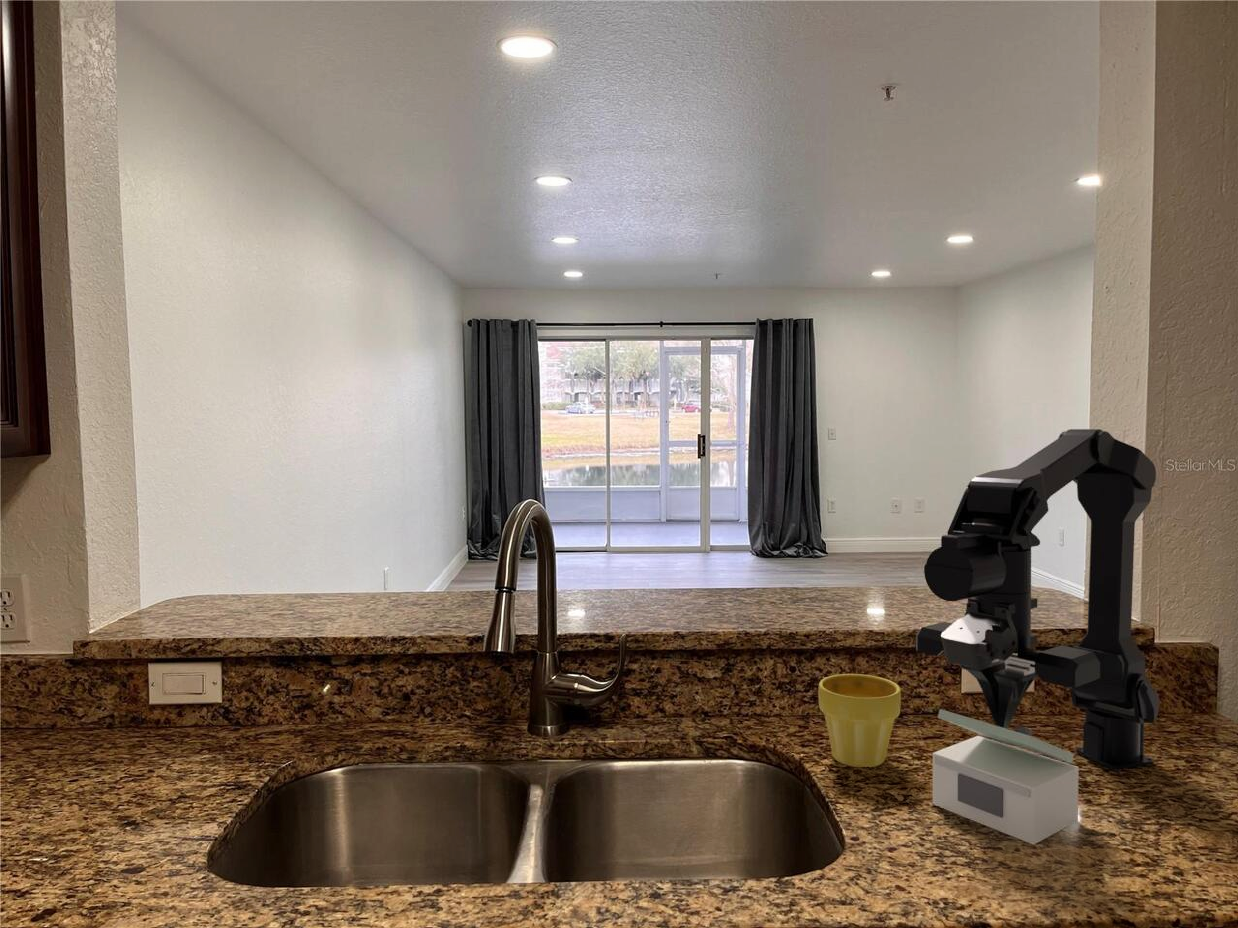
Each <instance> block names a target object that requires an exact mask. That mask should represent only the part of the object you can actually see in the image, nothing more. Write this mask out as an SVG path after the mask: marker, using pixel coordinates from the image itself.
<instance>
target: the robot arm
mask: <svg viewBox="0 0 1238 928" xmlns="http://www.w3.org/2000/svg"><path fill="white" fill-rule="evenodd" d="M1156 478H1157V470H1156V465H1155V463H1154V462H1153V461H1152V460H1151V459H1150V458H1149V457H1148V456H1147V455H1146V454H1145V453H1144V452H1143V451H1142V450H1141V449H1139V448H1137V447H1135V446H1133V445H1130V444H1127V443H1125V442H1123V441H1121V440H1118V439H1116V438H1114V437H1113V435H1111V433H1110V432H1108V431H1106V430H1105V431H1104V430H1102V429H1099V428H1088V429H1087V428H1075V429H1074V428H1070V429H1067V430H1065V431H1062V432H1061V433H1060V434H1059V435H1058V438H1057V439H1055V440H1054V441H1053V442H1051V443H1049V444H1048V445H1047V446H1044V447H1043V448H1042V449H1040V450H1039V451H1038V452H1036V453H1034V454H1033V455H1031V456H1030V457H1028V458H1026V459H1025V460H1024V461H1022V462H1021V463H1020V464H1018V465H1015V466H1014V467H1011V468H1004V469H998V470H991V471H988V472H985V473H984V472H983V473H981V474H979V475H976V476H974V477H973V478H972V479H971V480H970V481H969V482H968V484H967V486H966V489H965V490H964V493H963V495H962V497H961V499H960V501H959V504H958V506H957V509H956V511H955V513H954V516H953V518H952V520H951V523H950V525H949V527H948V529H947V534H945V535H942V536H941V537H940V539H941V540H940V541H941V542H940V545H941V546H940V547H938V548H936V549H934V550H933V551H932V552H931V553H930V554H929V555H928V558H927V559H926V563H925V564H924V567H923V573H924V574H923V575H924V579H925V582H926V585H927V586H928V588H929V589H930V591H931V592H932V593H933V595H934V596H936V597H937V598H939V599H941V600H943V601H944V602H958V601H961V600H967V602H966V607H965V609H966V610H965V612H964V613H965V614H964V616H963V617H959V618H958V619H956V620H955V621H954V622H953V623H952V622H947V621H943V622H942V621H941V622H938V623H933V624H930V625H924V626H922V627H921V628H920V629H919V630H918V632H917V634H916V636H915V643H916V644H915V647H916V648H915V649H916V652H919V653H922V654H927V655H931V656H936V657H938V656H940V655H941V654H942V653H944V655H945V658H946V659H945V660H946V662H947V663H949V664H952V665H956V664H958V665H959V667H960V669H962V670H965V671H967V672H968V673H969V674H970V675H972V677H974V678H975V679H976V681H977V682H978V684H979V687H980V689H981V691H982V693H983V696H984V698H985V701H986V703H987V705H988V709H989V712H990V715H991V716H992V721H993V723H994V725H996V726H999V727H1002V728H1006V729H1009V728H1008V727H1010V724H1011V723H1012V720H1013V718H1014V716H1015V714H1016V712H1017V710H1018V708H1019V706H1020V704H1021V702H1022V701H1023V698H1024V696H1025V694H1026V692H1027V691H1028V690H1029V688H1030V687H1031V685H1032V683H1033V681H1034V680H1035V679H1036V678H1039V679H1040V681H1042V683H1047V684H1052V685H1057V686H1061V687H1064V688H1069V691H1070V697H1071V702H1072V706H1073V707H1075V708H1081V709H1085V714H1084V715H1085V718H1084V719H1085V722H1083V726H1082V728H1083V729H1082V730H1083V733H1082V734H1083V735H1082V736H1083V738H1082V741H1083V742H1082V747H1081V746H1080V747H1076V748H1075V752H1076V753H1077V754H1079V755H1081V756H1083V757H1085V758H1087V759H1089V760H1091V761H1094V762H1095V763H1098V764H1100V765H1103V766H1104V767H1106V768H1108V769H1109V768H1110V769H1111V770H1114V771H1115V770H1122V769H1129V768H1131V769H1132V768H1136V767H1145V766H1149V765H1154V764H1155V760H1154V759H1152V758H1151V757H1148V756H1145V754H1144V748H1145V747H1144V746H1145V745H1144V742H1145V739H1144V738H1145V737H1144V736H1145V735H1144V734H1145V733H1144V732H1145V729H1144V728H1145V727H1144V726H1145V723H1155V722H1157V717H1158V714H1159V711H1160V705H1161V704H1160V703H1161V701H1160V698H1159V696H1158V693H1157V692H1156V690H1155V688H1154V687H1153V685H1152V684H1151V682H1150V681H1149V678H1148V677H1147V676H1146V674H1147V673H1146V659H1145V657H1144V655H1143V652H1141V650H1140V648H1139V647H1138V645H1137V644H1136V642H1135V641H1134V638H1132V615H1133V613H1132V611H1133V586H1134V585H1133V583H1134V558H1135V557H1134V554H1135V528H1136V526H1135V525H1136V521H1137V520H1138V519H1139V517H1140V516H1141V515H1142V514H1143V512H1144V511H1145V510H1146V508H1147V507H1148V506H1149V504H1150V503H1151V500H1152V499H1151V498H1152V491H1153V487H1154V486H1155V483H1156V480H1157V479H1156ZM1071 482H1074V484H1076V490H1077V491H1076V493H1077V494H1076V495H1077V501H1078V502H1079V503H1080V505H1081V507H1082V508H1083V509H1084V510H1083V511H1085V513H1086V515H1087V516H1088V518H1089V520H1090V539H1089V540H1090V543H1089V544H1090V545H1089V571H1088V572H1089V574H1088V575H1089V576H1088V600H1087V601H1088V605H1087V632H1086V634H1085V635H1084V637H1083V638H1082V639H1081V640H1080V642H1079V643H1078V644H1077V645H1076V646H1075V645H1073V646H1072V647H1071V646H1067V645H1059V646H1055V647H1052V648H1049V649H1045V650H1039V649H1035V648H1031V647H1032V646H1036V645H1038V635H1037V634H1035V633H1032V610H1033V609H1035V608H1036V609H1037V608H1038V597H1037V598H1036V597H1032V548H1034V547H1038V546H1040V545H1041V541H1040V539H1039V538H1038V536H1037V535H1036V534H1034V533H1032V531H1033V529H1034V528H1035V526H1037V525H1038V523H1039V522H1041V520H1042V519H1043V518H1044V516H1046V514H1047V513H1048V512H1049V506H1048V505H1049V504H1048V503H1049V502H1048V500H1049V499H1050V498H1051V497H1052V496H1053V495H1055V494H1056V493H1058V492H1059V491H1060V490H1062V489H1063V488H1065V486H1067V485H1068V484H1069V483H1071Z"/></svg>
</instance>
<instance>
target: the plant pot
mask: <svg viewBox="0 0 1238 928" xmlns="http://www.w3.org/2000/svg"><path fill="white" fill-rule="evenodd" d="M901 691H902V690H901V687H900V686H899V685H898V684H897V683H896V682H894V681H892V680H890V679H887V678H884V677H880V676H875V675H870V674H860V673H841V674H833V675H830V676H826V677H824V678H822V679H820V681H819V683H818V707H819V710H820V711H821V712H822V714H824V718H825V725H826V729H827V733H828V738H829V744H830V747H831V748H830V749H831V754H832V757H833V759H834V760H836V761H837V762H838V763H840V764H842V765H846V766H849V767H855V768H861V767H869V768H875V767H878V766H881V765H882V764H883V763H884V762H885V761H886V756H887V753H888V747H889V742H890V739H891V735H892V731H893V727H894V723H895V719H897V718H898V717H899V716H900V714H901V706H902V705H901V703H902V700H901V699H902V692H901Z"/></svg>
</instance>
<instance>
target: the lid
mask: <svg viewBox="0 0 1238 928" xmlns="http://www.w3.org/2000/svg"><path fill="white" fill-rule="evenodd" d="M937 718H938V719H940V720H943V721H945V722H948V723H951V724H953V725H955V726H959V727H960V728H963V729H965V730H968V731H970V732H973V733H976V734H978V735H979V736H982V737H985V738H988V739H991V740H995V741H998V742H1001V743H1004V744H1007V745H1011V746H1012V745H1013V746H1014V747H1017V748H1018V747H1019V748H1020V749H1024V750H1027V751H1030V752H1033V753H1036V754H1040V755H1043V756H1044V755H1045V756H1046V757H1047V756H1048V757H1049V758H1050V757H1051V758H1052V759H1056V760H1059V761H1062V762H1063V761H1064V762H1065V763H1069V764H1073V760H1074V757H1075V754H1074V753H1072V752H1070V751H1067V750H1065V749H1063V748H1059V747H1058V746H1055V745H1053V744H1052V743H1051V744H1050V743H1048V742H1045V741H1044V740H1041V739H1039V738H1036V737H1035V736H1032V734H1033V733H1032V732H1033V729H1030V728H1027V727H1025V726H1021V725H1017V724H1016V726H1015V730H1012V729H1009V728H1002V727H999V726H996V725H995V724H992V723H989V722H984V721H981V720H978V719H976V718H972V717H968V716H965V715H962V714H958V713H955V712H951V711H948V710H944V709H942V708H940V709H939V711H938V714H937Z"/></svg>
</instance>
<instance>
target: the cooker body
mask: <svg viewBox="0 0 1238 928" xmlns="http://www.w3.org/2000/svg"><path fill="white" fill-rule="evenodd" d="M933 804H934V805H933ZM932 805H933V806H936V807H938V806H939V807H938V808H942V809H943V808H944V810H946V811H949V812H951V813H952V814H956V815H958V816H961V817H963V818H966V819H968V820H971V821H974V822H976V823H979V824H981V825H983V826H986V827H988V828H991V829H994V830H996V831H998V832H1001V833H1003V834H1006V835H1009V836H1011V837H1013V838H1016V839H1018V840H1021V841H1023V842H1026V843H1028V844H1029V845H1030V844H1031V845H1033V846H1034V845H1036V844H1037V843H1039V842H1042V841H1043V840H1046V839H1047V838H1049V837H1051V836H1052V835H1055V834H1056V833H1058V832H1060V831H1062V830H1063V829H1066V828H1067V827H1069V826H1072V825H1073V824H1074V823H1077V822H1078V821H1079V766H1076V765H1073V764H1071V763H1068V762H1065V761H1064V762H1063V761H1062V760H1058V759H1055V758H1052V757H1051V758H1050V757H1049V756H1048V757H1047V756H1046V755H1045V756H1044V755H1042V754H1039V753H1036V752H1033V751H1030V750H1026V749H1023V748H1020V747H1019V748H1018V747H1017V746H1014V745H1013V746H1012V745H1010V744H1007V743H1004V742H1001V741H998V740H994V739H991V738H988V737H985V736H982V735H976V736H974V737H970V738H968V739H966V740H963V741H960V742H957V743H955V744H953V745H950V746H948V747H945V748H943V749H942V748H941V749H940V750H936V751H934V752H932Z"/></svg>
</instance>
